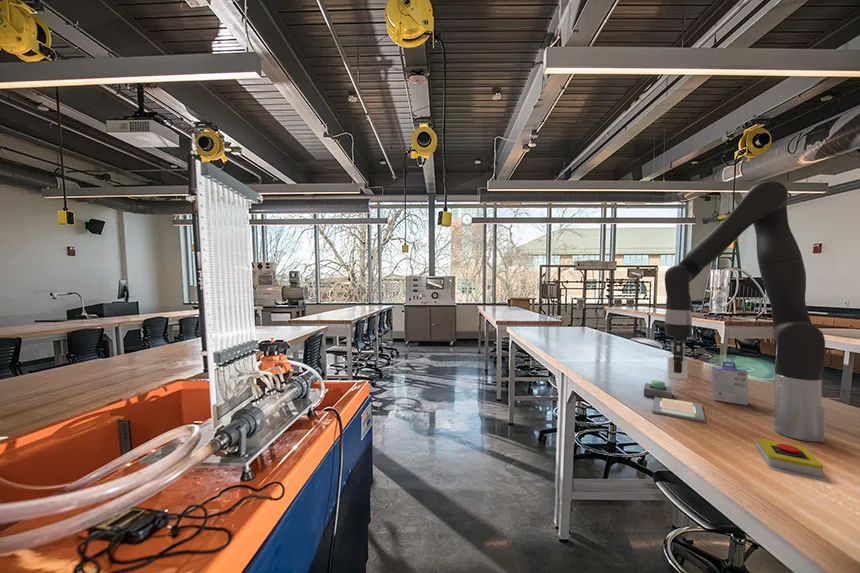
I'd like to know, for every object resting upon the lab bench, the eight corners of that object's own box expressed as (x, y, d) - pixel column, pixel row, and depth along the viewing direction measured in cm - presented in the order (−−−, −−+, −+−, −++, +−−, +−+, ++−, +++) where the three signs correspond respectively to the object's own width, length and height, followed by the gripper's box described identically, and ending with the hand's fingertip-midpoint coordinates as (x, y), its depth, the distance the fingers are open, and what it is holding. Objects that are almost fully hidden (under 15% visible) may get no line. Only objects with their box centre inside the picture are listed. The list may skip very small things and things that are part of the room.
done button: (664, 389, 132) (664, 381, 132) (664, 391, 129) (664, 384, 129) (651, 387, 135) (651, 379, 135) (651, 389, 131) (651, 382, 131)
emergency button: (770, 453, 79) (753, 430, 92) (770, 471, 79) (753, 445, 92) (828, 464, 74) (802, 438, 87) (828, 484, 74) (802, 455, 87)
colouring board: (701, 406, 120) (701, 403, 120) (705, 422, 105) (705, 420, 105) (654, 398, 128) (654, 395, 128) (652, 412, 114) (652, 410, 114)
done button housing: (672, 394, 133) (672, 386, 133) (672, 400, 125) (672, 392, 125) (645, 390, 138) (645, 382, 138) (643, 396, 131) (643, 388, 131)
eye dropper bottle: (686, 381, 113) (686, 346, 113) (666, 378, 117) (666, 344, 117) (688, 379, 116) (688, 345, 116) (668, 376, 120) (669, 343, 120)
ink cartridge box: (746, 401, 124) (746, 363, 124) (748, 406, 120) (748, 366, 120) (711, 396, 130) (711, 359, 130) (712, 400, 126) (712, 362, 126)
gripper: (693, 325, 109) (692, 377, 109) (690, 321, 120) (690, 368, 120) (664, 323, 113) (664, 374, 113) (665, 320, 124) (664, 365, 125)
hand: (677, 371), depth 117 cm, fingers closed on eye dropper bottle, 3 cm apart
